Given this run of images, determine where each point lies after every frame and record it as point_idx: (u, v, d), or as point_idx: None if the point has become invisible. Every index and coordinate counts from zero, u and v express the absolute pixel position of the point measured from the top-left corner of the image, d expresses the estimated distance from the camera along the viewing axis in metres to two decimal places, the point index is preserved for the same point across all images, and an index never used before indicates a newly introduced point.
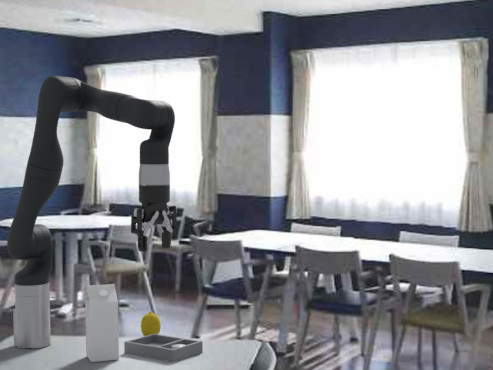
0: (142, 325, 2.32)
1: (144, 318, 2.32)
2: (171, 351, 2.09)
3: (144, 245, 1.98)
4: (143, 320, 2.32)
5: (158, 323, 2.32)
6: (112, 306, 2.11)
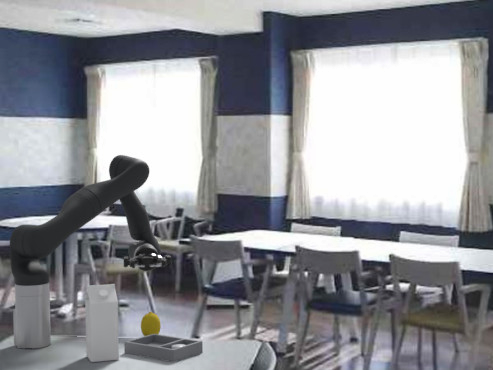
0: (142, 325, 2.32)
1: (144, 318, 2.32)
2: (171, 351, 2.09)
3: (164, 265, 2.45)
4: (143, 320, 2.32)
5: (158, 323, 2.32)
6: (112, 306, 2.11)
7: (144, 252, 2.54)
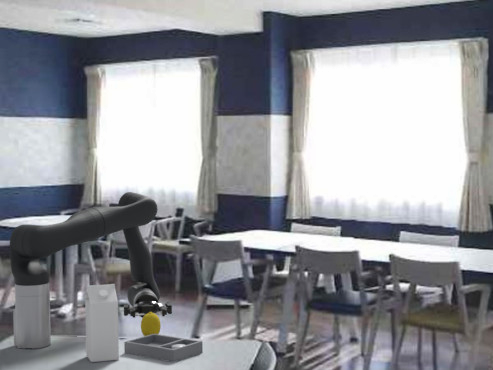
0: (142, 325, 2.32)
1: (144, 318, 2.32)
2: (171, 351, 2.09)
3: (164, 314, 2.44)
4: (143, 320, 2.32)
5: (158, 323, 2.32)
6: (112, 306, 2.11)
7: (144, 299, 2.53)
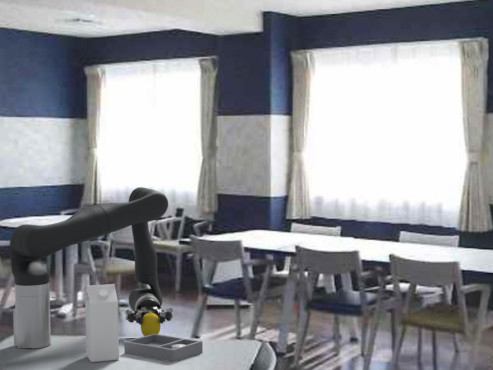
0: (142, 325, 2.32)
1: (144, 318, 2.32)
2: (171, 351, 2.09)
3: (162, 321, 2.33)
4: (143, 320, 2.32)
5: (158, 323, 2.32)
6: (112, 305, 2.11)
7: (146, 305, 2.43)
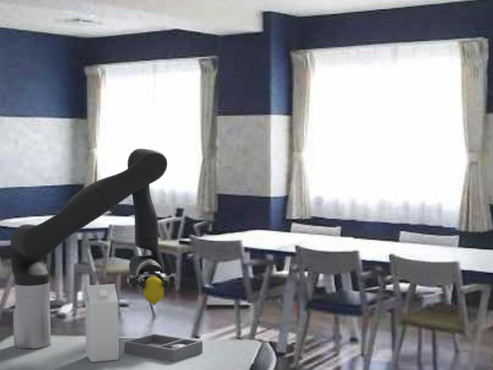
0: (145, 289, 2.22)
1: (147, 282, 2.22)
2: (171, 351, 2.09)
3: None
4: (146, 284, 2.22)
5: (161, 287, 2.22)
6: (112, 306, 2.11)
7: (148, 270, 2.33)
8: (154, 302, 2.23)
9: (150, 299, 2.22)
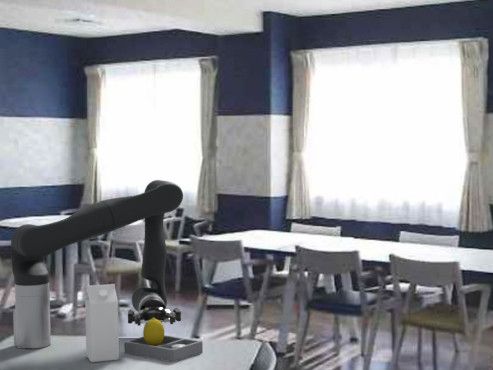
0: (145, 332, 2.18)
1: (147, 324, 2.18)
2: (171, 351, 2.09)
3: (172, 322, 2.20)
4: (146, 327, 2.18)
5: (162, 330, 2.19)
6: (112, 305, 2.11)
7: (150, 305, 2.29)
8: (154, 345, 2.19)
9: (150, 342, 2.18)
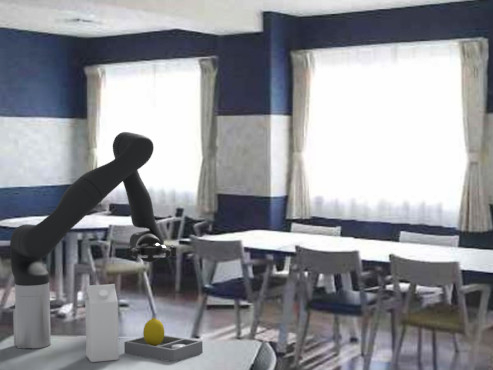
0: (145, 332, 2.18)
1: (147, 325, 2.18)
2: (171, 351, 2.09)
3: None
4: (146, 327, 2.18)
5: (162, 330, 2.19)
6: (112, 306, 2.11)
7: (147, 242, 2.40)
8: (154, 345, 2.19)
9: (150, 342, 2.18)
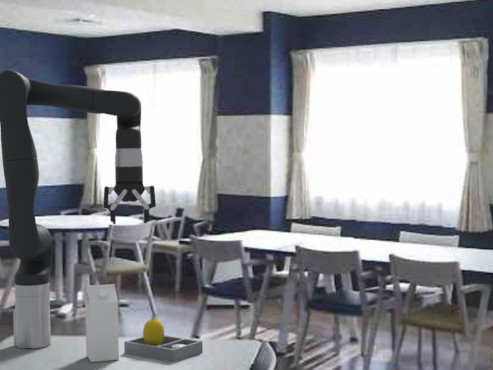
0: (145, 332, 2.18)
1: (147, 325, 2.18)
2: (171, 351, 2.09)
3: None
4: (146, 327, 2.18)
5: (162, 330, 2.19)
6: (112, 305, 2.11)
7: None
8: (154, 345, 2.19)
9: (150, 342, 2.18)
